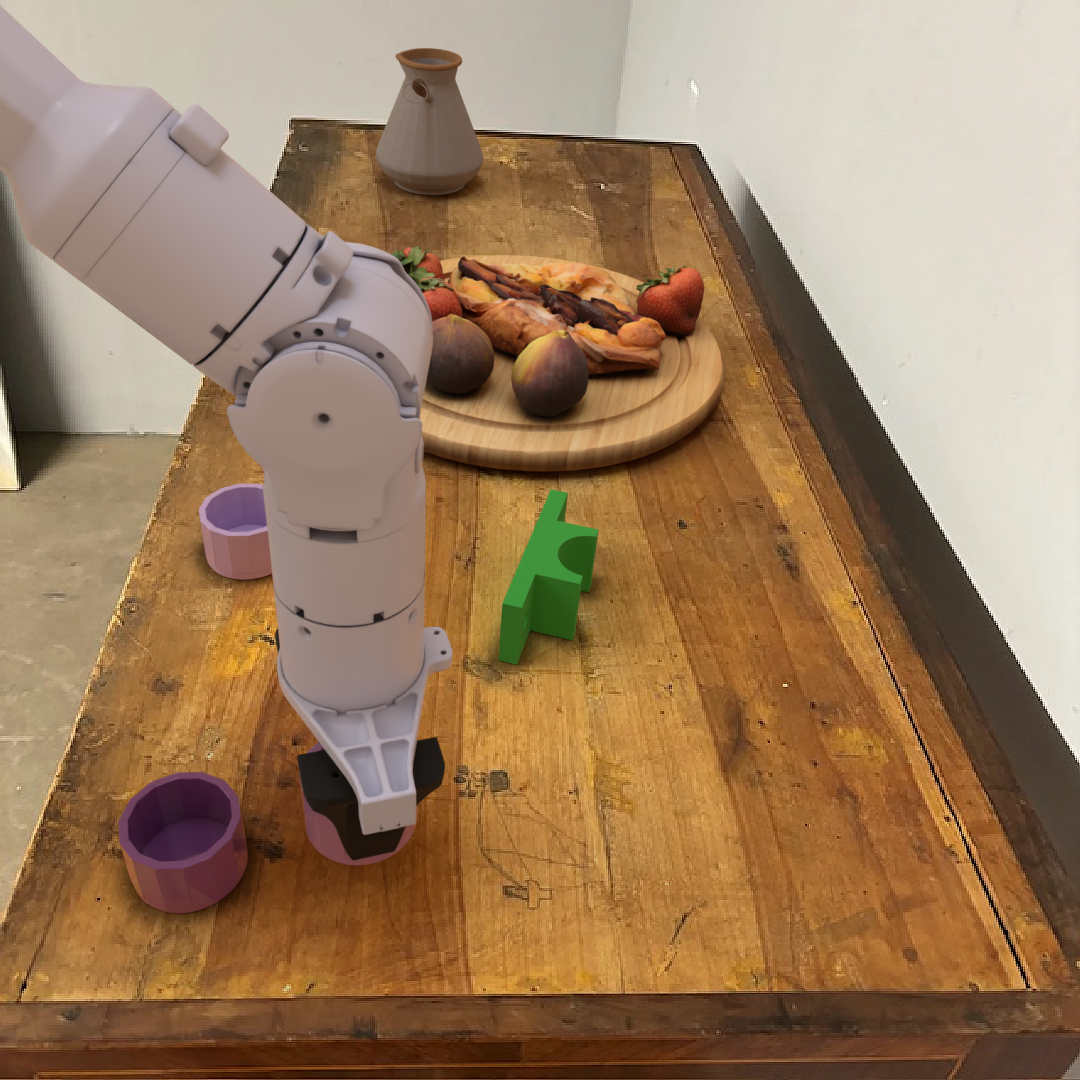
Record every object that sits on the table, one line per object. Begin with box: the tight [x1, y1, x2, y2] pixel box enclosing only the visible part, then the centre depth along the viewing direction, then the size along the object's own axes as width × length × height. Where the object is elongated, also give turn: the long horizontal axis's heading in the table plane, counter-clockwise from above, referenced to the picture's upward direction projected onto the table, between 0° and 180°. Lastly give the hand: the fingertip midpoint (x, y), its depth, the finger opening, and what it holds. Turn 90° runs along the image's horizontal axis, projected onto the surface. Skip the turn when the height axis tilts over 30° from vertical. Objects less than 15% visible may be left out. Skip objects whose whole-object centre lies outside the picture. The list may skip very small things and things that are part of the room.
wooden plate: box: [390, 245, 726, 472], centre depth 86 cm, size 32×32×8 cm
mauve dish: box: [298, 741, 419, 866], centre depth 50 cm, size 5×5×4 cm
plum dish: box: [118, 771, 249, 914], centre depth 49 cm, size 5×5×4 cm
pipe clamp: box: [498, 488, 600, 666], centre depth 65 cm, size 11×4×5 cm, turn 166°
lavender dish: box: [198, 483, 272, 581], centre depth 67 cm, size 5×5×4 cm
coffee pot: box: [375, 47, 485, 196], centre depth 108 cm, size 21×12×15 cm, turn 179°
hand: (360, 797), depth 50 cm, fingers closed on mauve dish, 5 cm apart
